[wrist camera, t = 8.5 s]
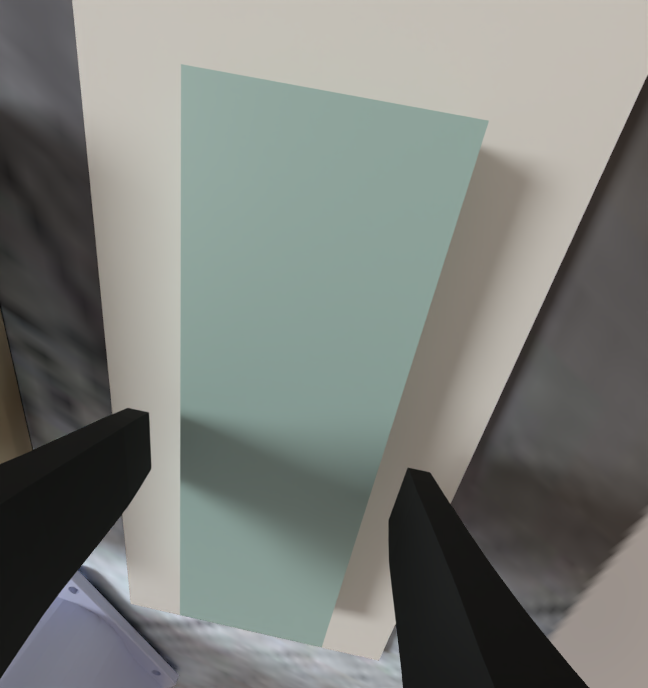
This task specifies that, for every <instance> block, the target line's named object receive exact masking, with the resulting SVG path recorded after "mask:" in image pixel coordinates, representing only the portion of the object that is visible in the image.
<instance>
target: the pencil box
mask: <svg viewBox="0 0 648 688" xmlns="http://www.w3.org/2000/svg"><path fill="white" fill-rule="evenodd" d="M30 451H32V447H31V442H30V438H29V433H28V429H27V424H26V420H25V416H24V411H23V407H22V402H21V398H20V394H19V389H18V385H17V380H16V376H15V371H14V367H13V363H12V358H11V354H10V349H9V345H8V340H7V336H6V332H5V327H4V323H3V318H2V314H1V309H0V464H1V463H4V462H6V461H8V460H11V459H13V458H16V457H18V456H20V455H23V454H25V453H28V452H30Z"/></svg>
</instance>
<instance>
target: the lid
mask: <svg viewBox="0 0 648 688" xmlns="http://www.w3.org/2000/svg"><path fill="white" fill-rule="evenodd" d="M488 122H489V121H488V120H482V119H477V118H471V117H466V116H461V115H455V114H450V113H444V112H439V111H433V110H428V109H422V108H417V107H412V106H406V105H401V104H395V103H390V102H384V101H379V100H373V99H368V98H363V97H357V96H352V95H346V94H341V93H335V92H330V91H324V90H319V89H314V88H308V87H303V86H297V85H292V84H286V83H281V82H275V81H270V80H265V79H259V78H254V77H248V76H243V75H237V74H232V73H226V72H221V71H216V70H210V69H205V68H199V67H194V66H188V65H183V64H181V348H180V615H182V616H187V617H191V618H195V619H200V620H204V621H208V622H213V623H217V624H222V625H226V626H230V627H235V628H239V629H243V630H248V631H252V632H257V633H261V634H265V635H270V636H274V637H278V638H283V639H287V640H292V641H296V642H300V643H305V644H309V645H313V646H318V647H322V645H323V642H324V639H325V635H326V632H327V629H328V626H329V623H330V620H331V617H332V613H333V610H334V607H335V604H336V601H337V598H338V595H339V591H340V588H341V585H342V582H343V579H344V576H345V572H346V569H347V566H348V563H349V560H350V557H351V554H352V550H353V547H354V544H355V541H356V538H357V535H358V532H359V528H360V525H361V522H362V519H363V516H364V513H365V510H366V506H367V503H368V500H369V497H370V494H371V491H372V487H373V484H374V481H375V478H376V475H377V472H378V469H379V465H380V462H381V459H382V456H383V453H384V450H385V447H386V443H387V440H388V437H389V434H390V431H391V428H392V425H393V421H394V418H395V415H396V412H397V409H398V406H399V403H400V399H401V396H402V393H403V390H404V387H405V384H406V380H407V377H408V374H409V371H410V368H411V365H412V362H413V358H414V355H415V352H416V349H417V346H418V343H419V340H420V336H421V333H422V330H423V327H424V324H425V321H426V318H427V314H428V311H429V308H430V305H431V302H432V299H433V295H434V292H435V289H436V286H437V283H438V280H439V277H440V273H441V270H442V267H443V264H444V261H445V258H446V255H447V251H448V248H449V245H450V242H451V239H452V236H453V233H454V229H455V226H456V223H457V220H458V217H459V214H460V210H461V207H462V204H463V201H464V198H465V195H466V192H467V188H468V185H469V182H470V179H471V176H472V173H473V170H474V166H475V163H476V160H477V157H478V154H479V151H480V148H481V144H482V141H483V138H484V135H485V132H486V129H487V125H488Z"/></svg>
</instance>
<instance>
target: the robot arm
mask: <svg viewBox="0 0 648 688" xmlns="http://www.w3.org/2000/svg"><path fill="white" fill-rule="evenodd" d="M151 469H152V468H151V444H150V421H149V412H145V411H140V410H136V409H131V408H126V409H124V410H121V411H119V412H116V413H114V414H112V415H110V416H107V417H105V418H103V419H101V420H98V421H96V422H94V423H92V424H90V425H87V426H85V427H83V428H81V429H79V430H77V431H74V432H72V433H70V434H68V435H66V436H63V437H61V438H59V439H57V440H54V441H52V442H50V443H48V444H46V445H43V446H41V447H39V448H37V449H35V450H32V451H30V452H28V453H25V454H23V455H20V456H18V457H16V458H13V459H11V460H8V461H6V462H4V463H1V464H0V688H169V687H173V686H175V684H176V682H177V679H178V674H177V673H176V671H175V670H174V669H173V668H172V667H171V666H170V665H169V664H168V663H167V662H166V661H165V660H164V659H163V658H162V657H161V656H160V655H159V654H158V653H157V652H156V651H155V650H154V649H153V648H152V647H151V645H150V644H149V643H148V642H147V641H146V640H145V639H144V638H143V637H142V636H141V635H140V634H139V633H138V632H137V631H136V630H135V629H134V628H133V627H132V626H131V625H130V624H129V623H128V622H127V621H126V619H125V618H124V617H123V616H122V615H121V614H120V613H119V612H118V611H117V610H116V609H115V608H114V607H113V606H112V605H111V604H110V603H109V602H108V601H107V600H106V599H105V598H104V597H103V596H102V595H101V594H100V592H99V591H98V590H97V589H96V588H95V587H94V586H93V585H92V584H91V583H90V582H89V581H88V580H87V579H86V578H85V577H84V576H83V575H82V574H81V573H80V572H79V571H78V569H79V568H80V567H81V565H82V564H83V563H84V562H85V560H86V559H87V558H88V557H89V555H90V554H91V553H92V552H93V550H94V549H95V548H96V547H97V545H98V544H99V543H100V542H101V540H102V539H103V538H104V537H105V535H106V534H107V533H108V531H109V530H110V529H111V528H112V526H113V525H114V524H115V522H116V521H117V520H118V519H119V517H120V516H121V515H122V514H123V512H124V511H125V510H126V508H127V507H128V506H129V504H130V503H131V501H132V500H133V498H134V497H135V495H136V494H137V492H138V490H139V489H140V487H141V486H142V484H143V482H144V481H145V479H146V477H147V476H148V474H149V472H150V471H151ZM388 545H389V568H390V577H391V586H392V594H393V603H394V611H395V620H396V628H397V636H398V645H399V653H400V662H401V670H402V682H403V688H589V687H588V686H587V685H586V684H585V682H584V681H583V680H582V679H581V678H580V677H579V676H578V674H577V673H576V672H575V671H574V670H573V669H572V667H571V666H570V665H569V664H568V663H567V661H566V660H565V659H564V658H563V656H562V655H561V654H560V653H559V652H558V650H557V649H556V648H555V647H554V646H553V644H552V643H551V642H550V641H549V639H548V638H547V637H546V636H545V635H544V633H543V632H542V631H541V630H540V629H539V627H538V626H537V625H536V624H535V622H534V621H533V620H532V619H531V617H530V616H529V615H528V613H527V612H526V611H525V610H524V608H523V607H522V606H521V604H520V603H519V602H518V600H517V599H516V598H515V596H514V595H513V594H512V592H511V591H510V590H509V588H508V587H507V586H506V584H505V583H504V582H503V580H502V579H501V578H500V576H499V575H498V574H497V572H496V571H495V569H494V568H493V567H492V565H491V564H490V562H489V561H488V560H487V558H486V557H485V555H484V554H483V552H482V551H481V549H480V548H479V546H478V545H477V544H476V542H475V541H474V539H473V538H472V536H471V535H470V533H469V532H468V530H467V529H466V527H465V526H464V524H463V523H462V521H461V520H460V518H459V516H458V515H457V513H456V512H455V510H454V509H453V507H452V506H451V504H450V503H449V501H448V499H447V498H446V496H445V495H444V493H443V492H442V490H441V488H440V487H439V485H438V484H437V482H436V481H435V479H434V477H433V476H432V474H431V473H430V472H427V471H422V470H417V469H413V468H407V471H406V473H405V476H404V479H403V482H402V484H401V487H400V490H399V493H398V495H397V498H396V501H395V504H394V506H393V509H392V512H391V515H390V517H389V520H388Z"/></svg>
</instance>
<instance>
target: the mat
mask: <svg viewBox="0 0 648 688" xmlns="http://www.w3.org/2000/svg"><path fill="white" fill-rule="evenodd" d="M72 2H73V12H74V22H75V33H76V43H77V53H78V64H79V74H80V84H81V95H82V105H83V115H84V126H85V136H86V146H87V157H88V167H89V177H90V188H91V198H92V208H93V219H94V229H95V239H96V250H97V260H98V270H99V281H100V291H101V301H102V312H103V322H104V332H105V343H106V353H107V363H108V374H109V384H110V394H111V405H112V414H114V413H116V412H119V411H121V410H124V409H126V408H131V409H136V410H140V411H145V412H149V421H150V444H151V468H152V469H151V471H150V472H149V474H148V476H147V477H146V479H145V481H144V482H143V484H142V486H141V487H140V489H139V490H138V492H137V494H136V495H135V497H134V498H133V500H132V501H131V503H130V504H129V506H128V507H127V508H126V510H125V511H124V512H123V514H122V518H123V528H124V539H125V549H126V559H127V570H128V580H129V590H130V601H131V604H134V605H138V606H143V607H147V608H151V609H156V610H160V611H165V612H169V613H173V614H178V615H180V348H181V64H183V65H188V66H194V67H199V68H205V69H210V70H216V71H221V72H226V73H232V74H237V75H243V76H248V77H254V78H259V79H265V80H270V81H275V82H281V83H286V84H292V85H297V86H303V87H308V88H314V89H319V90H324V91H330V92H335V93H341V94H346V95H352V96H357V97H363V98H368V99H373V100H379V101H384V102H390V103H395V104H401V105H406V106H412V107H417V108H422V109H428V110H433V111H439V112H444V113H450V114H455V115H461V116H466V117H471V118H477V119H482V120H488V121H489V122H488V125H487V129H486V132H485V135H484V138H483V141H482V144H481V148H480V151H479V154H478V157H477V160H476V163H475V166H474V170H473V173H472V176H471V179H470V182H469V185H468V188H467V192H466V195H465V198H464V201H463V204H462V207H461V210H460V214H459V217H458V220H457V223H456V226H455V229H454V233H453V236H452V239H451V242H450V245H449V248H448V251H447V255H446V258H445V261H444V264H443V267H442V270H441V273H440V277H439V280H438V283H437V286H436V289H435V292H434V295H433V299H432V302H431V305H430V308H429V311H428V314H427V318H426V321H425V324H424V327H423V330H422V333H421V336H420V340H419V343H418V346H417V349H416V352H415V355H414V358H413V362H412V365H411V368H410V371H409V374H408V377H407V380H406V384H405V387H404V390H403V393H402V396H401V399H400V403H399V406H398V409H397V412H396V415H395V418H394V421H393V425H392V428H391V431H390V434H389V437H388V440H387V443H386V447H385V450H384V453H383V456H382V459H381V462H380V465H379V469H378V472H377V475H376V478H375V481H374V484H373V487H372V491H371V494H370V497H369V500H368V503H367V506H366V510H365V513H364V516H363V519H362V522H361V525H360V528H359V532H358V535H357V538H356V541H355V544H354V547H353V550H352V554H351V557H350V560H349V563H348V566H347V569H346V572H345V576H344V579H343V582H342V585H341V588H340V591H339V595H338V598H337V601H336V604H335V607H334V610H333V613H332V617H331V620H330V623H329V626H328V629H327V632H326V635H325V639H324V642H323V645H322V648H326V649H330V650H335V651H339V652H344V653H348V654H352V655H357V656H361V657H365V658H370V659H374V660H378V661H379V659H380V657H381V654H382V652H383V650H384V648H385V646H386V644H387V641H388V639H389V637H390V635H391V633H392V630H393V628H394V626H395V624H396V620H395V611H394V603H393V594H392V586H391V577H390V568H389V545H388V520H389V517H390V515H391V512H392V509H393V506H394V504H395V501H396V498H397V495H398V493H399V490H400V487H401V484H402V482H403V479H404V476H405V473H406V471H407V468H413V469H417V470H422V471H427V472H430V473H431V474H432V476H433V477H434V479H435V481H436V482H437V484H438V485H439V487H440V488H441V490H442V492H443V493H444V495H445V496H446V498H447V499H448V501H449V503H450V504H451V502H452V500H453V498H454V495H455V493H456V491H457V489H458V487H459V484H460V482H461V480H462V478H463V476H464V474H465V471H466V469H467V467H468V465H469V463H470V461H471V458H472V456H473V454H474V452H475V450H476V447H477V445H478V443H479V441H480V439H481V437H482V434H483V432H484V430H485V428H486V426H487V423H488V421H489V419H490V417H491V415H492V413H493V410H494V408H495V406H496V404H497V402H498V400H499V397H500V395H501V393H502V391H503V389H504V386H505V384H506V382H507V380H508V378H509V376H510V373H511V371H512V369H513V367H514V365H515V362H516V360H517V358H518V356H519V354H520V352H521V349H522V347H523V345H524V343H525V341H526V338H527V336H528V334H529V332H530V330H531V328H532V325H533V323H534V321H535V319H536V317H537V315H538V312H539V310H540V308H541V306H542V304H543V301H544V299H545V297H546V295H547V293H548V291H549V288H550V286H551V284H552V282H553V280H554V277H555V275H556V273H557V271H558V269H559V267H560V264H561V262H562V260H563V258H564V256H565V254H566V251H567V249H568V247H569V245H570V243H571V240H572V238H573V236H574V234H575V232H576V230H577V227H578V225H579V223H580V221H581V219H582V216H583V214H584V212H585V210H586V208H587V206H588V203H589V201H590V199H591V197H592V195H593V193H594V190H595V188H596V186H597V184H598V182H599V179H600V177H601V175H602V173H603V171H604V169H605V166H606V164H607V162H608V160H609V158H610V155H611V153H612V151H613V149H614V147H615V145H616V142H617V140H618V138H619V136H620V134H621V132H622V129H623V127H624V125H625V123H626V121H627V118H628V116H629V114H630V112H631V110H632V108H633V105H634V103H635V101H636V99H637V97H638V94H639V92H640V90H641V88H642V86H643V84H644V81H645V79H646V77H647V75H648V0H72ZM186 617H187V616H186ZM199 620H200V619H199ZM221 625H222V624H221ZM234 628H235V627H234ZM247 631H248V630H247ZM256 633H257V632H256ZM269 636H270V635H269ZM282 639H283V638H282ZM291 641H292V640H291ZM304 644H305V643H304ZM317 647H318V646H317Z"/></svg>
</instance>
